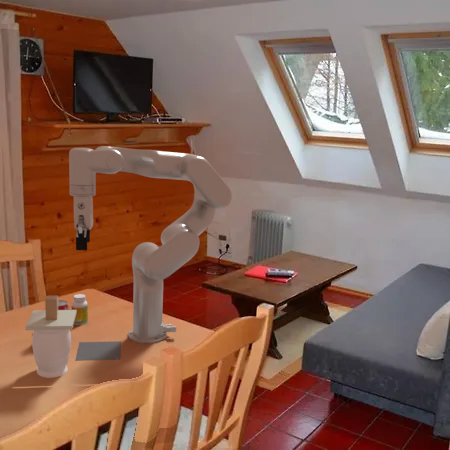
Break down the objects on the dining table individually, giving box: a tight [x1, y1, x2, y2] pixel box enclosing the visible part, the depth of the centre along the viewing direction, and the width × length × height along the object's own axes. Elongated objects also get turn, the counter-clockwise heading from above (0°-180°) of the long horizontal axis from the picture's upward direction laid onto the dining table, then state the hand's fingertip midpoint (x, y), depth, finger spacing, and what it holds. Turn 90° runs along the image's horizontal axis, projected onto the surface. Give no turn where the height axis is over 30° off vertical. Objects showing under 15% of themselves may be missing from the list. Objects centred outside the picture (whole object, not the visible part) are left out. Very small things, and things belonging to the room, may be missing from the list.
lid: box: [25, 295, 77, 331], centre depth 155 cm, size 12×12×7 cm
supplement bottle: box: [71, 293, 89, 326], centre depth 193 cm, size 5×5×10 cm
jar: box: [31, 329, 72, 379], centre depth 157 cm, size 11×10×15 cm
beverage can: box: [58, 299, 71, 310], centre depth 180 cm, size 6×6×12 cm
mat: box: [75, 340, 122, 362], centre depth 172 cm, size 13×13×1 cm
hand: (83, 245), depth 170 cm, fingers open, 9 cm apart
